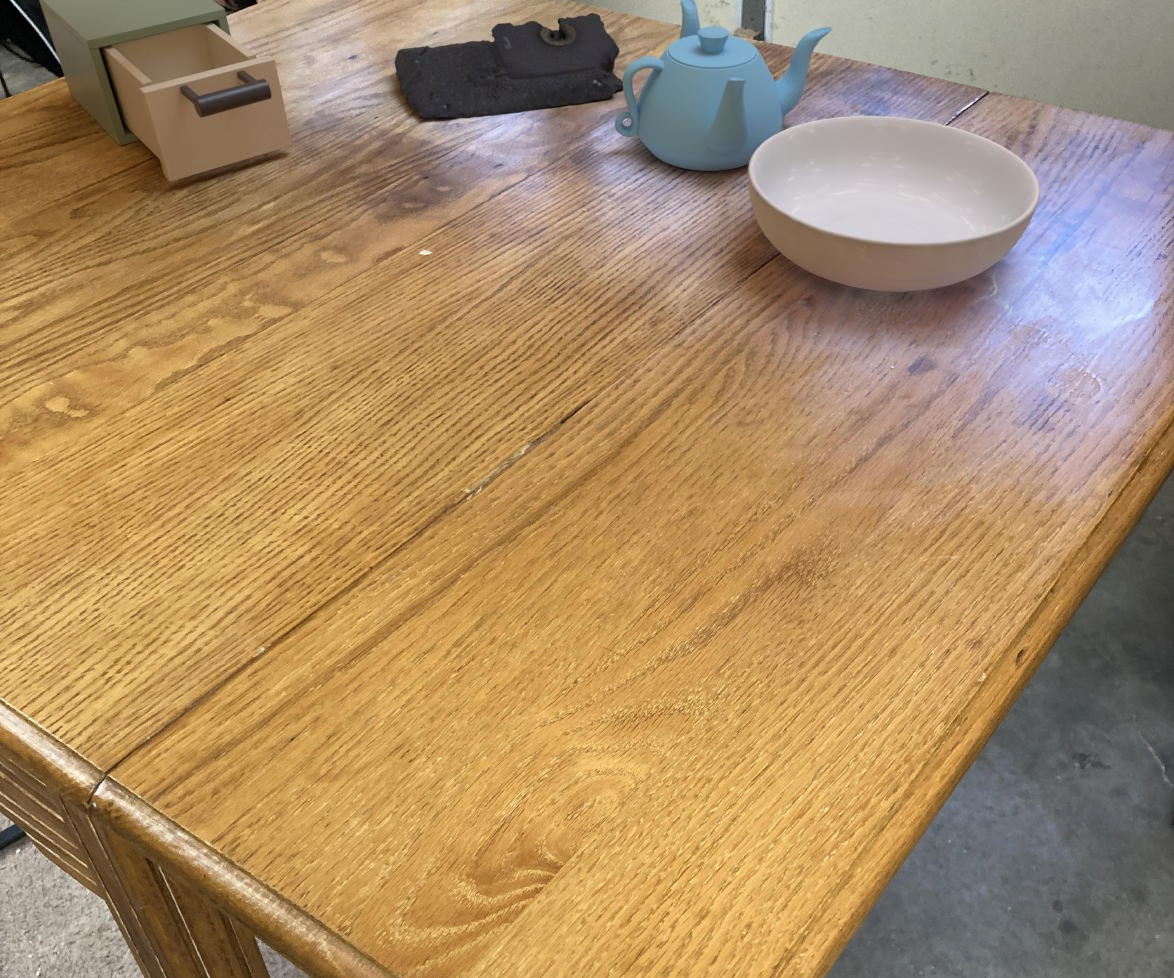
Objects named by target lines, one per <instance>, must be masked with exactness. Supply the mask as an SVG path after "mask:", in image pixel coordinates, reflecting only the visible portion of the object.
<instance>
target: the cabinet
mask: <svg viewBox="0 0 1174 978" xmlns="http://www.w3.org/2000/svg"><path fill="white" fill-rule="evenodd" d="M38 1H39V4H40V8H41V10H42V13H43V16H44V19H45V22H46V25H47V28H48V31H49V34H50V37H51V40H52V44H53V46H54V49H55V52H56V55H57V57H58V58H57V59H58V62H59V64H60V66H61V70H62V73H63V77H64V79H65V82H66V84H67V87H68V91H69V94H70V96H71V97H72V98H73V99H74V100H75V101H76V103H78V104H79V105H80V106H81V107H82V108H83V109H84V110H85V111H86V112H87V114H89V115H90V117H91V118H92V119H93V120H94V121H95V122H96V123H97V124H98V125H99V126H100V127H101V128H102V129H103V130H104V132H106V133H107V134H108V135H109V136H110V137H111V138H112V140H114V141H115V143H116V144H117V145H118V146H119V147H120V146H124V145H128V144H131V143H136V142H138V141H141V140H140V139H139V138H138V137H137V136H136V135H135V134H134V133H133V132H132V131H131V130H130V129H129V128H128V127H127V126H126V125H125V124H124V123H123V120H122V115H121V113H120V110H119V107H118V103H117V100H116V97H115V94H114V90H113V87H112V84H111V81H110V77H109V74H108V71H107V68H106V64H105V61H104V58H103V55H102V51H101V48H100V47H103V46H108V45H112V44H116V43H120V42H124V41H129V40H133V39H137V38H141V37H146V36H150V35H154V34H158V33H162V32H167V31H171V30H175V29H179V28H184V27H188V26H192V25H196V24H200V23H205V22H209V21H210V22H212V23H213V24H214V25H216V26H217V27H219V28H220V29H221V30H223V31H224V32H225V33H227V34H228V35H230V36H231V37H232V35H231V30H230V26H229V22H228V17H227V16H228V15H227V13H226V9H225V8H224V7H223V6H222V5H221V4H218V2H216V1H214V0H38Z"/></svg>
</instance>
